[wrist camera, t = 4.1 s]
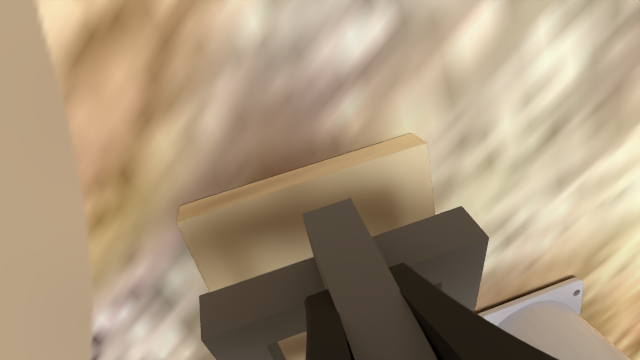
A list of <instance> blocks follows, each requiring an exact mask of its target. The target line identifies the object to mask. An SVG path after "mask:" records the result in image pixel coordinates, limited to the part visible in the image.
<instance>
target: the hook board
mask: <svg viewBox="0 0 640 360" xmlns="http://www.w3.org/2000/svg"><path fill="white" fill-rule="evenodd" d="M349 198H351V199H352V201H353V203H354V205H355V207H356V209H357V211H358V212H359V214H360V216H361V218H362V220H363V222H364V224H365V225H366V227H367V229H368V231H369V233H370V235H371V237H373V236H376V235H379V234H381V233H384V232H387V231H390V230H393V229H396V228H399V227H402V226H405V225H408V224H411V223H414V222H416V221H419V220H422V219H425V218H428V217H431V216H434V215H435V211H434V202H433V193H432V184H431V175H430V166H429V157H428V148H427V143H426V142H425V141H423V140H422V139H420V138H419V137H417V136H415V135H414V134H412V133H410V134H407V135H404V136H400V137H397V138H394V139H391V140H388V141H385V142H381V143H378V144H375V145H372V146H369V147H365V148H362V149H359V150H356V151H353V152H350V153H346V154H343V155H340V156H337V157H334V158H330V159H327V160H324V161H321V162H318V163H315V164H311V165H308V166H305V167H302V168H299V169H295V170H292V171H289V172H286V173H283V174H280V175H276V176H273V177H270V178H267V179H264V180H261V181H257V182H254V183H251V184H248V185H245V186H241V187H238V188H235V189H232V190H229V191H226V192H222V193H219V194H216V195H213V196H210V197H206V198H203V199H200V200H197V201H194V202H191V203H187V204H184V205H181V206H180V207H179V212H178V216H177V221H176V224H177V226H178V228H179V230H180V232H181V234H182V236H183V238H184V241H185V243H186V245H187V247H188V249H189V251H190V253H191V255H192V257H193V259H194V261H195V263H196V265H197V267H198V269H199V272H200V274H201V276H202V278H203V280H204V282H205V284H206V286H207V288H208V290H209V292H212V291H215V290H218V289H221V288H224V287H227V286H230V285H233V284H236V283H238V282H241V281H244V280H247V279H250V278H253V277H256V276H259V275H262V274H265V273H268V272H271V271H273V270H276V269H279V268H282V267H285V266H288V265H291V264H294V263H297V262H300V261H303V260H306V259H309V258H311V257H314V256H313V252H312V249H311V245H310V241H309V238H308V234H307V231H306V227H305V224H304V220H303V217H302V214H303V213H306V212H309V211H312V210H315V209H318V208H321V207H324V206H328V205H331V204H334V203H337V202H340V201H343V200H346V199H349ZM306 338H307V331H306V332H303V333H300V334H298V335H295V336H292V337H289V338H287V339H284V340H281V341H278V344H279V346H280V348H281V350H282V352H283V354H284V356H285V358H286V360H305V359H306Z"/></svg>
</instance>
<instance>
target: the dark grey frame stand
mask: <svg viewBox="0 0 640 360" xmlns="http://www.w3.org/2000/svg"><path fill="white" fill-rule="evenodd" d="M302 217H303V220H304V224H305V227H306V231H307V234H308V238H309V241H310V245H311V249H312V252H313V256H314V257H311V258H309V259H306V260H303V261H300V262H297V263H294V264H291V265H288V266H285V267H282V268H279V269H276V270H273V271H271V272H268V273H265V274H262V275H259V276H256V277H253V278H250V279H247V280H244V281H241V282H238V283H236V284H233V285H230V286H227V287H224V288H221V289H218V290H215V291H212V292H209V293H206V294H203V295H201V296H199V300H200V323H201V340H202V342H203V343H204V344H205V345H206V347H207V348H208V349H209V351H210V352H211V353H212V354H213V356H214V357H215V358H216V360H286V358H285V356H284V354H283V352H282V350H281V348H280V346H279V344H278V341H281V340H284V339H287V338H289V337H292V336H295V335H298V334H300V333H303V332H306V331H307V325H306V310H305V304H304V301H305V299H306V297H307V296H310V295H313V294H316V293H318V292H321V291H324V290H327V289H328V291H329V293H330V295H331V298H332V300H333V302H334V305H335V307H336V310H337V312H338V313H339V315H340V318H341V322H342V326H343V329H344V333H345V336H346V340H347V343H348V347H349V350H350V354H351V357H352V360H438V359H437V357H436V356H435V354H434V352H433V350H432V348H431V346H430V344H429V343H428V341H427V339H426V337H425V335H424V333H423V331H422V330H421V328H420V326H419V324H418V322H417V320H416V318H415V317H414V315H413V313H412V311H411V309H410V307H409V305H408V304H407V302H406V300H405V299H404V297H403V296H402V294H401V293H400V289H399V287H398V285H397V283H396V281H395V279H394V277H393V276H392V274H391V272H390V270H389V267H392V266H394V265H397V264H400V263H405V264H407V265H408V266H410V267H411V268H412V269H414V270H415V271H416V272H418V273H419V274H420V275H421V276H423V277H424V278H425V279H427V280H428V281H430V282H431V283H432V284H434V285H435V286H436V287H438V288H439V289H441V290H442V291H443V292H445V293H446V294H448V295H449V296H451V297H452V298H454V299H455V300H457V301H458V302H460V303H461V304H463V305H464V306H466V307H467V308H469V309H470V310H472V311H473V312H475V307H476V302H477V297H478V292H479V286H480V281H481V276H482V271H483V266H484V261H485V256H486V251H487V245H488V240H489V237H488V236H487V235H486V234H485V232H484V231H483V230H482V229H481V228H480V227H479V225H478V224H477V223H476V222H475V221H474V220H473V219H472V217H471V216H470V215H469V214H468V213H467V212H466V210H465V209H464V208H463V207H462V206H460V207H457V208H454V209H452V210H449V211H446V212H443V213H440V214H437V215H434V216H431V217H428V218H425V219H422V220H419V221H416V222H414V223H411V224H408V225H405V226H402V227H399V228H396V229H393V230H390V231H387V232H384V233H381V234H379V235H376V236H373V237H371V235H370V233H369V231H368V229H367V227H366V225H365V224H364V222H363V220H362V218H361V216H360V214H359V212H358V211H357V209H356V207H355V205H354V203H353V201H352V199H351V198H349V199H346V200H343V201H340V202H337V203H334V204H331V205H328V206H324V207H321V208H318V209H315V210H312V211H309V212H306V213H303V214H302Z"/></svg>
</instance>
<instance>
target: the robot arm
mask: <svg viewBox="0 0 640 360" xmlns="http://www.w3.org/2000/svg"><path fill="white" fill-rule="evenodd" d="M389 270H390V272H391V274H392V276H393V277H394V279H395V281H396V283H397V285H398V287H399V289H400V293H401V294H402V296H403V297H404V299H405V300H406V302H407V304H408V305H409V307H410V309H411V311H412V313H413V315H414V317H415V318H416V320H417V322H418V324H419V326H420V328H421V330H422V331H423V333H424V335H425V337H426V339H427V341H428V343H429V344H430V346H431V348H432V350H433V352H434V354H435V356H436V357H437V359H438V360H631V359H630V358H629V357H627V356H626V355H625V354H624V353H623V352H622V351H620V350H619V349H618V348H617V347H616V346H614V345H613V344H612V343H611V342H610V341H609V340H607V339H606V338H605V337H604V336H603V335H602V334H600V333H599V332H598V331H597V330H596V329H594V328H593V327H592V326H591V325H590V324H589V323H587V322H586V321H585V320H584V319H583V318H582V317H580V311H581V302H582V293H583V281H582V280H580V279H579V278H577V277H575V278H571V279H569V280H566V281H563V282H561V283H558V284H555V285H553V286H550V287H547V288H545V289H542V290H540V291H537V292H534V293H532V294H529V295H526V296H524V297H521V298H518V299H516V300H513V301H511V302H508V303H505V304H503V305H500V306H497V307H495V308H492V309H489V310H487V311H484V312H482V313H479V314H477V313H475V312H473V311H472V310H470V309H469V308H467V307H466V306H464V305H463V304H461V303H460V302H458V301H457V300H455V299H454V298H452V297H451V296H449V295H448V294H446V293H445V292H443V291H442V290H441V289H439V288H438V287H436V286H435V285H434V284H432V283H431V282H430V281H428V280H427V279H425V278H424V277H423V276H421V275H420V274H419V273H418V272H416V271H415V270H414V269H412V268H411V267H410V266H408V265H407V264H405V263H400V264H397V265H394V266H392V267H389ZM304 304H305V310H306V325H307V338H306V359H305V360H352V357H351V354H350V350H349V347H348V343H347V340H346V336H345V333H344V329H343V326H342V322H341V318H340V315H339V313H338V312H337V310H336V307H335V305H334V302H333V300H332V298H331V295H330V293H329V291H328V289H327V290H324V291H321V292H318V293H316V294H313V295H310V296H307V297H306V299H305V301H304Z"/></svg>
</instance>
